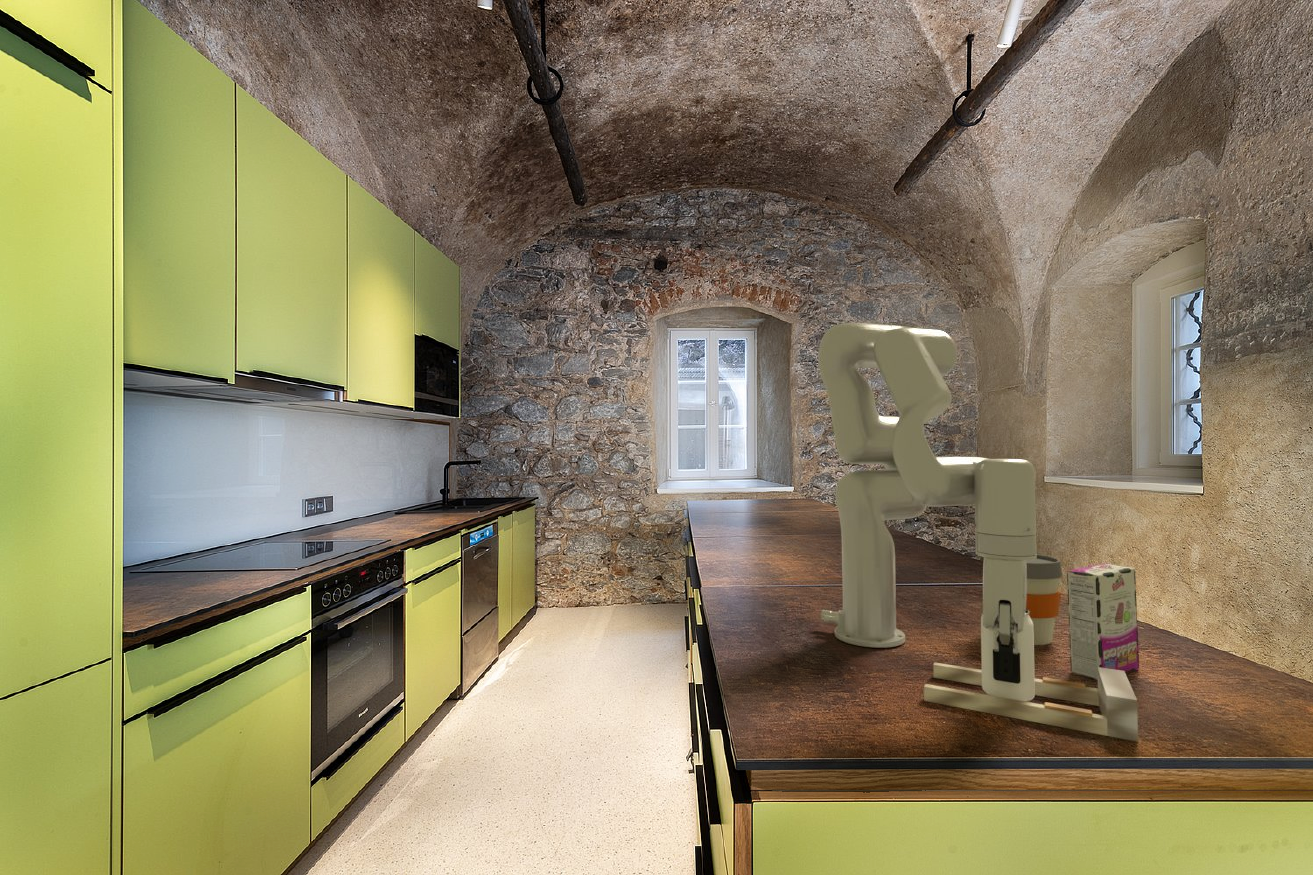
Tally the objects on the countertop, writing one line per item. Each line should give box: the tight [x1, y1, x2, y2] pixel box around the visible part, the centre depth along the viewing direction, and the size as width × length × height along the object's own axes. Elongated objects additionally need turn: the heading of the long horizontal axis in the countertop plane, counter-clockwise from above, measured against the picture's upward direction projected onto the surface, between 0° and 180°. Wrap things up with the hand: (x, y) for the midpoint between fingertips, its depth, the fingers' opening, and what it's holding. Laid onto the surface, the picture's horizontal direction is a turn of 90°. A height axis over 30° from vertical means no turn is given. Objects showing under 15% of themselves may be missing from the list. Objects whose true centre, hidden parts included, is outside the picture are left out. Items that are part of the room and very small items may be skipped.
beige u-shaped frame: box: [923, 662, 1139, 742], centre depth 85 cm, size 24×11×5 cm, turn 59°
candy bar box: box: [1066, 563, 1141, 681], centre depth 98 cm, size 11×5×16 cm, turn 117°
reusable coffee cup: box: [1026, 554, 1063, 646], centre depth 115 cm, size 12×12×15 cm
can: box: [980, 605, 1036, 702], centre depth 86 cm, size 6×6×12 cm
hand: (1007, 671), depth 86 cm, fingers closed on can, 6 cm apart
